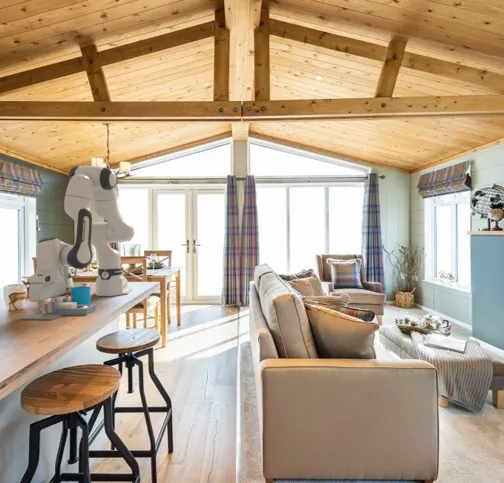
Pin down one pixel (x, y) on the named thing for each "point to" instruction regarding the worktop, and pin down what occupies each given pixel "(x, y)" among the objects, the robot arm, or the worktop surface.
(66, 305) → the beige rectangular block
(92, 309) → the dispenser
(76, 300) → the mug
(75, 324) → the worktop surface
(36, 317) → the pad
